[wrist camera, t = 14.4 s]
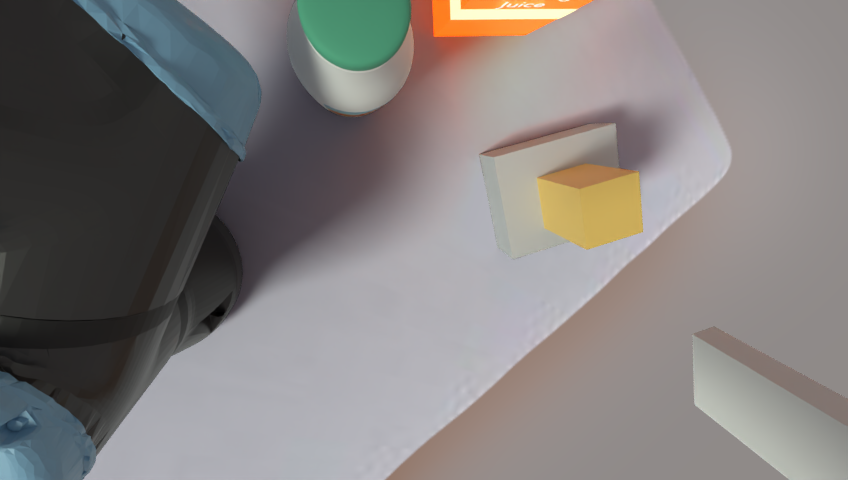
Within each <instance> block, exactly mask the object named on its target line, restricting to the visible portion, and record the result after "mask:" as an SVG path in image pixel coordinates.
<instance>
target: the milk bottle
mask: <svg viewBox="0 0 848 480" xmlns="http://www.w3.org/2000/svg"><path fill="white" fill-rule="evenodd" d="M410 20H411V1H410V0H295V2H294V4H293V6H292V8H291V11H290V14H289V18H288V23H287V48H288V54H289V58H290V61H291V64H292V67H293V69H294V71H295V73H296V75H297V77H298V78H299V80H300V82H301V83H302V85H303V86H304V88H305V89H306V90H307V91H308V92H309V94H310V95H311V96H312V97H313V98H314V99H315V100H316V101H317V102H318V103H319V104H321V105H322V106H323V107H324V108H326V109H327V110H329V111H331V112H333V113H335V114H337V115H340V116H345V117H360V116H364V115H367V114H370V113H372V112H374V111H376V110H378V109H379V108H381V107H382V106H384V105H385V104H387V103H388V102H389V101H390V100H392V99H393V98H394V97H395V95H396V94H397V93H398V92H399V91H400V89H401V88H402V87H403V85H404V83H405V82H406V80H407V78H408V75H409V73H410V70H411V66H412V61H413V55H414V37H413V31H412V27H411V23H410Z"/></svg>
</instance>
